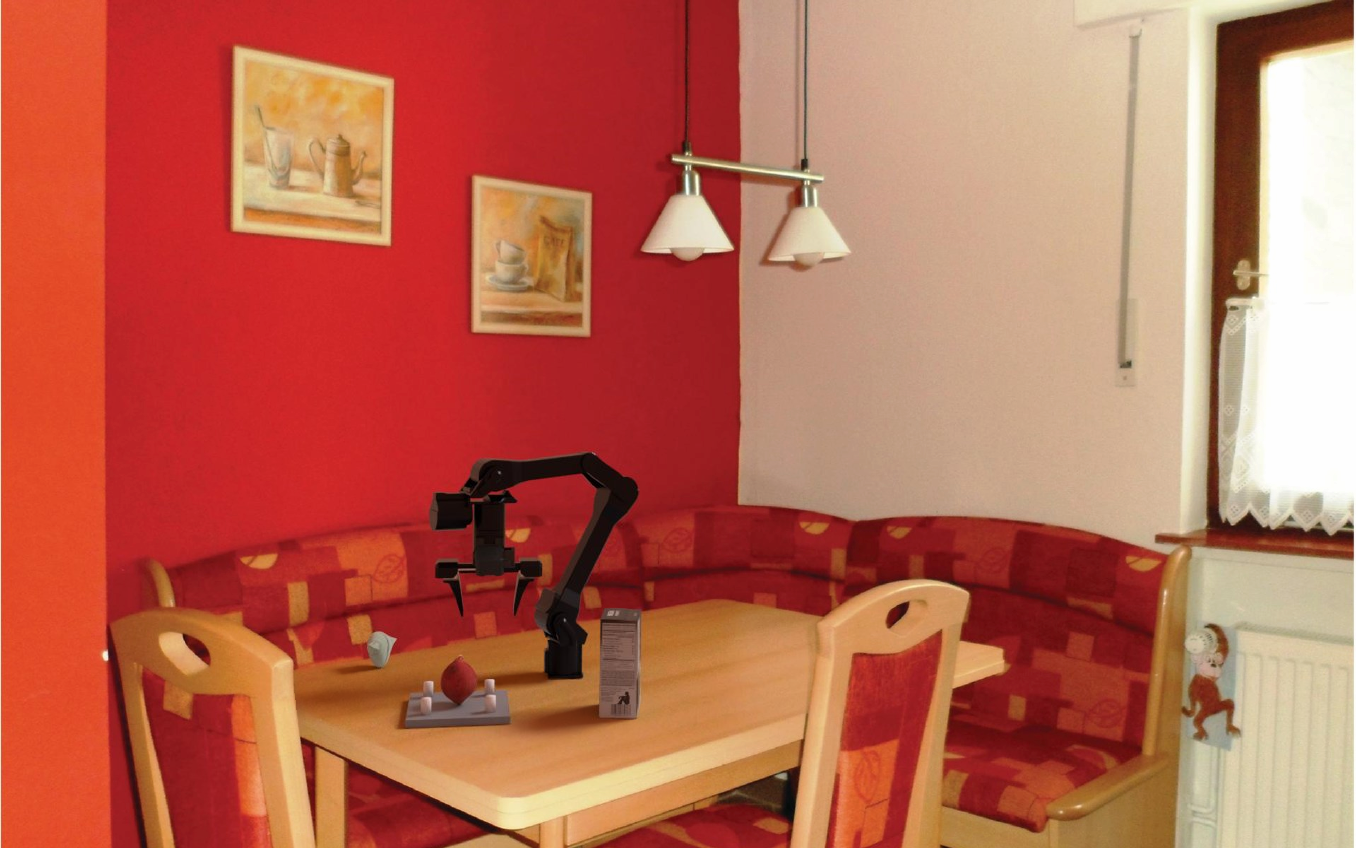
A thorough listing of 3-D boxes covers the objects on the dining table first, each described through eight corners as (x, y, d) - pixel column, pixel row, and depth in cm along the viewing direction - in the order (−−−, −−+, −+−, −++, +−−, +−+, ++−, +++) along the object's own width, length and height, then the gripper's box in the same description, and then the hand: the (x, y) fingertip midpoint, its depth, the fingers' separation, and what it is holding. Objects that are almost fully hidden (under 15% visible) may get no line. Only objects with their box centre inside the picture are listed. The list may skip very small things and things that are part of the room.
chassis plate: (506, 696, 192) (507, 675, 192) (510, 724, 176) (510, 700, 176) (410, 700, 189) (410, 678, 189) (405, 728, 173) (405, 704, 173)
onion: (459, 711, 178) (459, 661, 178) (432, 705, 181) (433, 656, 181) (484, 703, 183) (484, 654, 183) (457, 697, 186) (457, 649, 186)
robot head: (376, 673, 207) (376, 636, 206) (357, 671, 208) (357, 635, 208) (399, 663, 214) (399, 628, 214) (380, 662, 215) (381, 626, 215)
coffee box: (603, 703, 189) (604, 607, 188) (641, 703, 189) (642, 608, 188) (597, 718, 180) (598, 618, 179) (637, 719, 179) (638, 618, 179)
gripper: (434, 534, 191) (433, 626, 191) (544, 534, 194) (543, 623, 194) (436, 527, 202) (435, 613, 202) (540, 526, 205) (539, 611, 205)
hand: (488, 616), depth 201 cm, fingers open, 9 cm apart
